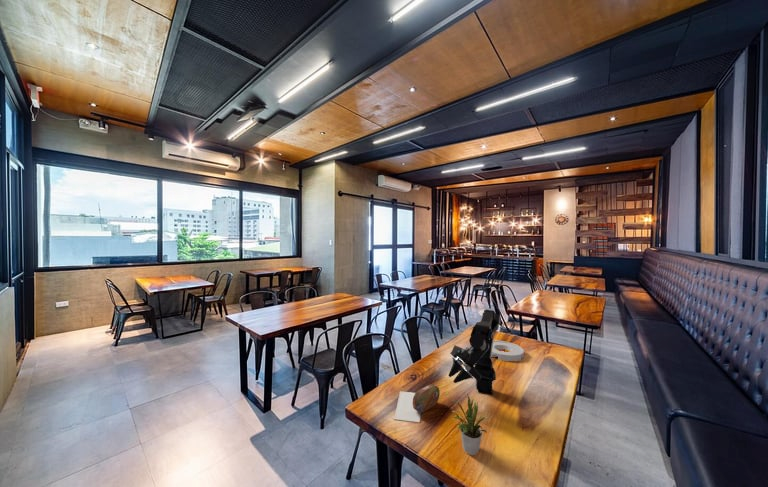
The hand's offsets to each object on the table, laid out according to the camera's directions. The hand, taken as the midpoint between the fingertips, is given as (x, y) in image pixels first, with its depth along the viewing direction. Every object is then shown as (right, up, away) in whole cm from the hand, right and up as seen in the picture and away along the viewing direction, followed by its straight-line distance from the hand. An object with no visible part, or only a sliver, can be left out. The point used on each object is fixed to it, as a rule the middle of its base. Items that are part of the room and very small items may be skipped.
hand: (451, 379), depth 119 cm
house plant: (0, -12, -22) cm, 26 cm away
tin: (-11, -11, -1) cm, 16 cm away
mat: (-18, -11, 0) cm, 21 cm away
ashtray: (+45, -11, +55) cm, 72 cm away
